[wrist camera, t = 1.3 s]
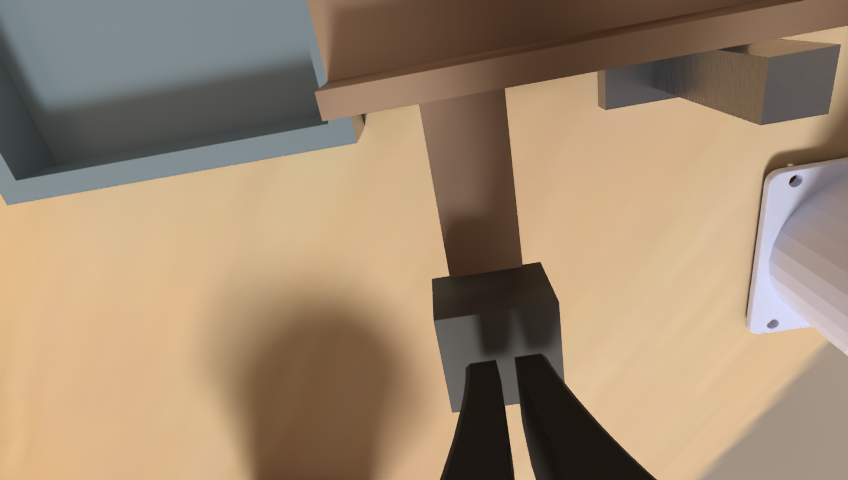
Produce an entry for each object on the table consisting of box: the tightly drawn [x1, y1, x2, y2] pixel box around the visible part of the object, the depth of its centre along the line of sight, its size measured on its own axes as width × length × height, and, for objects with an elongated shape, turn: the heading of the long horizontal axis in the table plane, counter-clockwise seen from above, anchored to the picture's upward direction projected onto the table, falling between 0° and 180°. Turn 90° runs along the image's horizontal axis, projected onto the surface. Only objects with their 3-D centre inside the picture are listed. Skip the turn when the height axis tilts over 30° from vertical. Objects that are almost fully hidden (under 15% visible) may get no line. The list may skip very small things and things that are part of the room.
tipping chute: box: [307, 0, 848, 413], centre depth 10 cm, size 20×17×3 cm
